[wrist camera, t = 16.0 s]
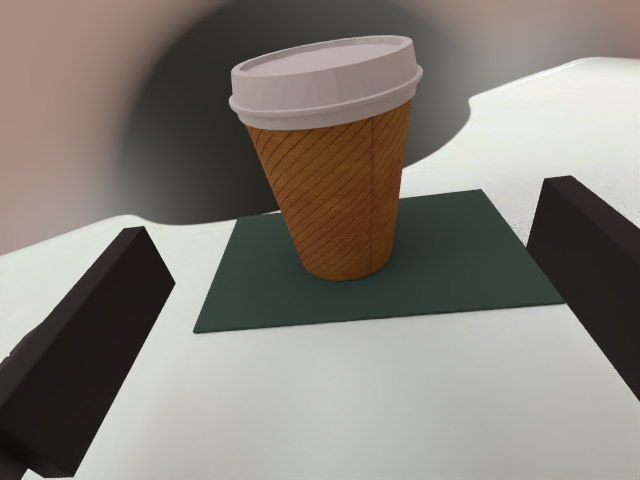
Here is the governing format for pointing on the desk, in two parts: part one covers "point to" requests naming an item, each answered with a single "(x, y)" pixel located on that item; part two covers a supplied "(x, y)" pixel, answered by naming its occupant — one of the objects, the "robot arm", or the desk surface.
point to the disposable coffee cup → (333, 144)
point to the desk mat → (386, 283)
